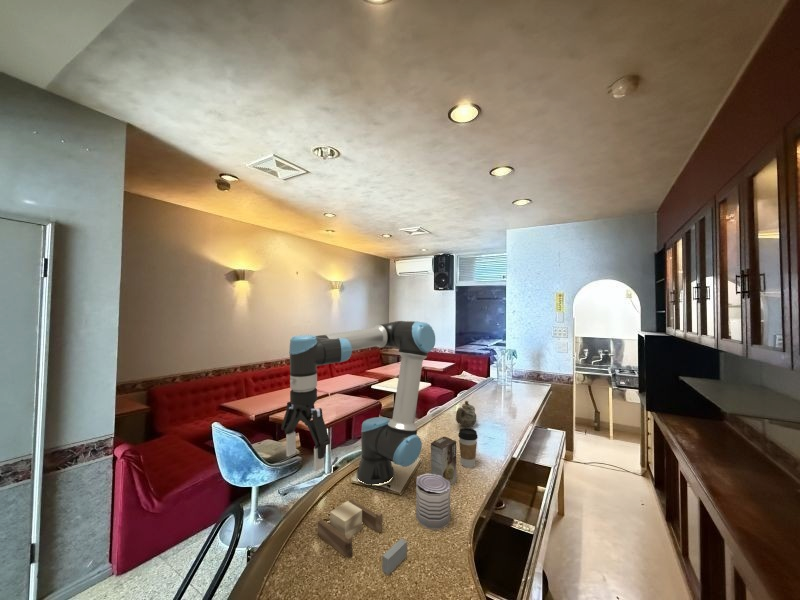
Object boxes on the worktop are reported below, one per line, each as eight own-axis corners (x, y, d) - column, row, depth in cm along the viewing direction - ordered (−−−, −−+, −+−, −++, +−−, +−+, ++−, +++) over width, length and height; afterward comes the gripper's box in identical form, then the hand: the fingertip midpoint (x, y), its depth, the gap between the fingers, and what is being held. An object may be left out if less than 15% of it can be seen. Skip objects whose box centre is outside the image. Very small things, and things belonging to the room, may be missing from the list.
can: (415, 506, 108) (415, 471, 108) (448, 507, 108) (448, 472, 108) (416, 529, 97) (416, 490, 97) (452, 530, 96) (452, 491, 97)
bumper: (401, 552, 88) (401, 538, 88) (406, 556, 86) (406, 541, 86) (382, 571, 81) (382, 555, 81) (388, 575, 80) (388, 559, 80)
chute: (352, 511, 105) (352, 496, 105) (382, 530, 96) (382, 513, 96) (317, 535, 94) (317, 517, 94) (348, 558, 85) (348, 539, 85)
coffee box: (444, 475, 128) (444, 435, 129) (457, 481, 124) (457, 440, 124) (430, 483, 122) (430, 442, 122) (443, 490, 117) (443, 447, 118)
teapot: (464, 419, 193) (464, 394, 193) (482, 423, 186) (482, 398, 186) (448, 430, 175) (448, 403, 176) (467, 435, 168) (467, 407, 169)
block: (347, 519, 101) (347, 500, 101) (361, 529, 97) (362, 509, 97) (329, 531, 96) (330, 511, 96) (344, 542, 91) (345, 521, 92)
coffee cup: (454, 464, 137) (454, 430, 137) (464, 457, 143) (464, 425, 143) (471, 471, 131) (471, 435, 131) (481, 464, 137) (481, 430, 137)
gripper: (269, 384, 95) (269, 454, 95) (320, 399, 80) (321, 482, 79) (290, 379, 101) (291, 445, 101) (342, 392, 85) (343, 469, 85)
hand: (304, 461), depth 90 cm, fingers open, 13 cm apart
